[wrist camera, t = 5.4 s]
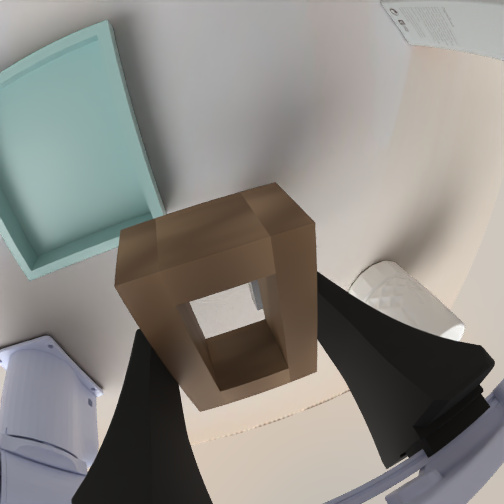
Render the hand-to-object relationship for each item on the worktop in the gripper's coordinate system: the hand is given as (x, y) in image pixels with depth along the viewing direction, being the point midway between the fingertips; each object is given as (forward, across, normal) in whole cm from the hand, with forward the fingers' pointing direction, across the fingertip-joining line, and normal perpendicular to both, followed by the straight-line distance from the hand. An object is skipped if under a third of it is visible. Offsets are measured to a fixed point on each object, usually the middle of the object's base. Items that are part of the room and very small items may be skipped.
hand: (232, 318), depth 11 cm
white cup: (+10, -15, +14) cm, 22 cm away
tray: (+9, +6, -6) cm, 13 cm away
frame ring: (+2, 0, 0) cm, 2 cm away
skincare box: (+10, -18, -12) cm, 24 cm away
